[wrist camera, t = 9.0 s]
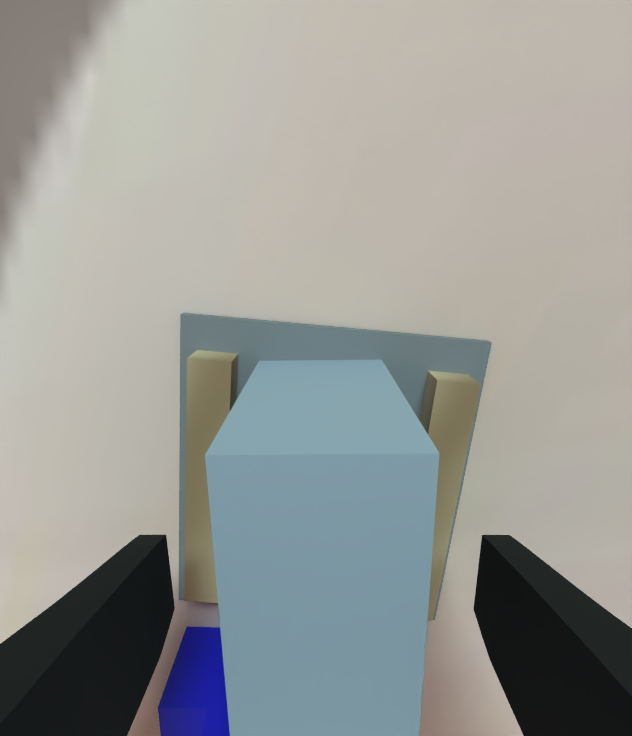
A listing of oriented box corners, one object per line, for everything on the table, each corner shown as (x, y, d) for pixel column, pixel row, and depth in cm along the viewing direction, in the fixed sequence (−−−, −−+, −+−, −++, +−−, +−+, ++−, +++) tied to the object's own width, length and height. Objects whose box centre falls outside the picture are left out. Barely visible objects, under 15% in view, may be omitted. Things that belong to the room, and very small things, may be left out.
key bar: (374, 585, 14) (413, 812, 8) (269, 586, 14) (236, 812, 8) (381, 359, 12) (439, 452, 6) (259, 360, 12) (205, 455, 6)
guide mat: (487, 340, 12) (491, 342, 12) (432, 613, 15) (434, 620, 15) (183, 313, 12) (180, 314, 12) (181, 593, 15) (178, 599, 14)
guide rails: (468, 374, 12) (480, 384, 11) (425, 595, 14) (432, 620, 13) (197, 349, 12) (186, 357, 11) (193, 577, 14) (184, 600, 13)
